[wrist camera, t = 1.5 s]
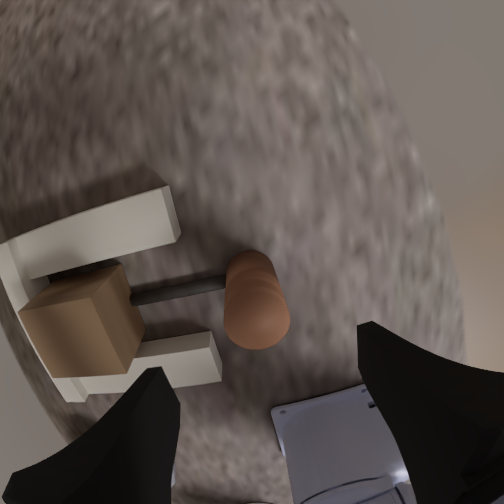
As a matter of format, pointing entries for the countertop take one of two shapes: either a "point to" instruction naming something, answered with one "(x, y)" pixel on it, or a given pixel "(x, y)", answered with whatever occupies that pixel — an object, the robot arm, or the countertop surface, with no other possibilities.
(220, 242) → the countertop surface
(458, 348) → the countertop surface
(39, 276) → the frame
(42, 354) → the string block
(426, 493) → the robot arm
